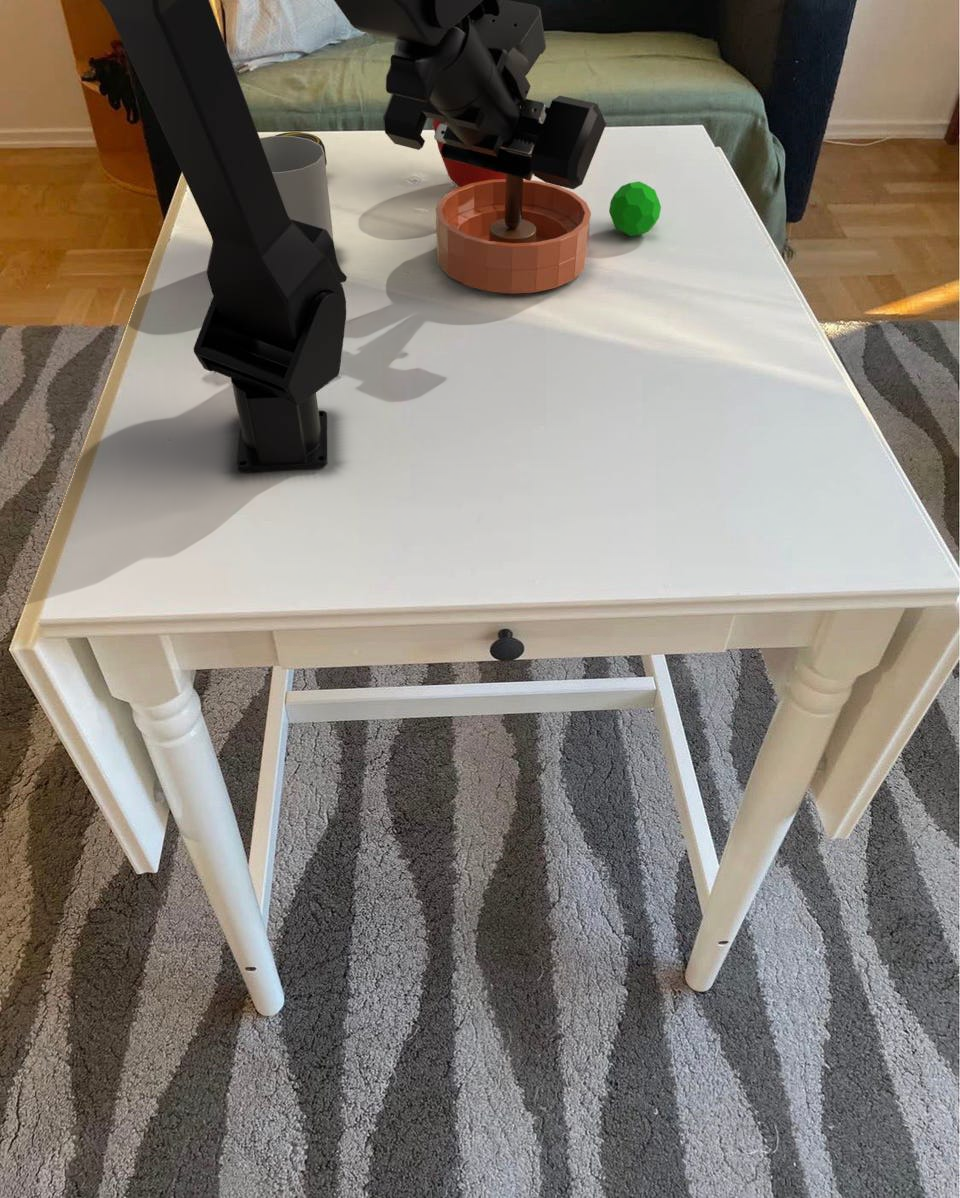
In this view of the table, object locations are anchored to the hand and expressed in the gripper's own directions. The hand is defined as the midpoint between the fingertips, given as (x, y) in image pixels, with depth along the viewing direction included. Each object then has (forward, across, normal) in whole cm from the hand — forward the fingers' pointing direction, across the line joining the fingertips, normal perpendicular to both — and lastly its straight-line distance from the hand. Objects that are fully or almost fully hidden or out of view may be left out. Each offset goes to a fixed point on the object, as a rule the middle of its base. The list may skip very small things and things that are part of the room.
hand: (521, 172), depth 87 cm
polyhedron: (+13, -7, -2) cm, 15 cm away
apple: (+14, +11, -2) cm, 18 cm away
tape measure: (+8, +30, +4) cm, 31 cm away
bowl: (+5, 0, +7) cm, 8 cm away
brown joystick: (+4, 0, +6) cm, 7 cm away
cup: (-3, +18, +15) cm, 23 cm away
